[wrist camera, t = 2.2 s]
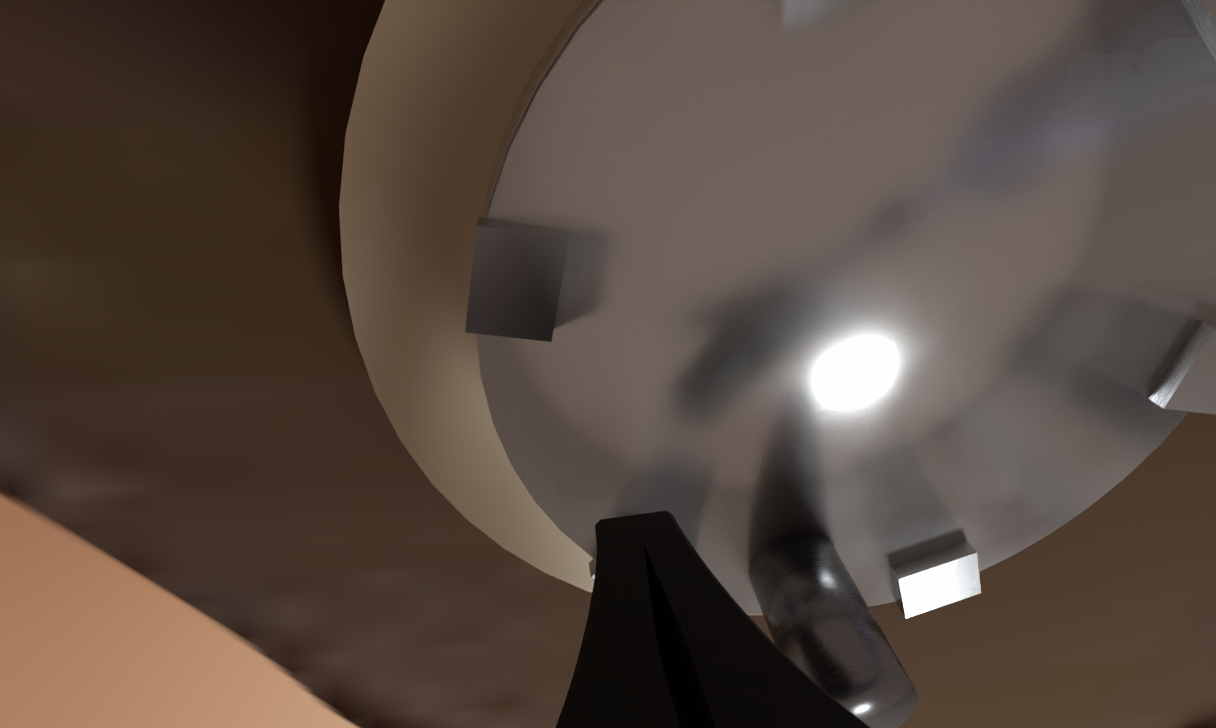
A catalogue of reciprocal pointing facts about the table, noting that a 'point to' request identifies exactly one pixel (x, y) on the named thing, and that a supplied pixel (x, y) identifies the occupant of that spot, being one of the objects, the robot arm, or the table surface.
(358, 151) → the base plate
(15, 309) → the table surface
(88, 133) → the table surface
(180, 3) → the table surface
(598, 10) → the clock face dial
